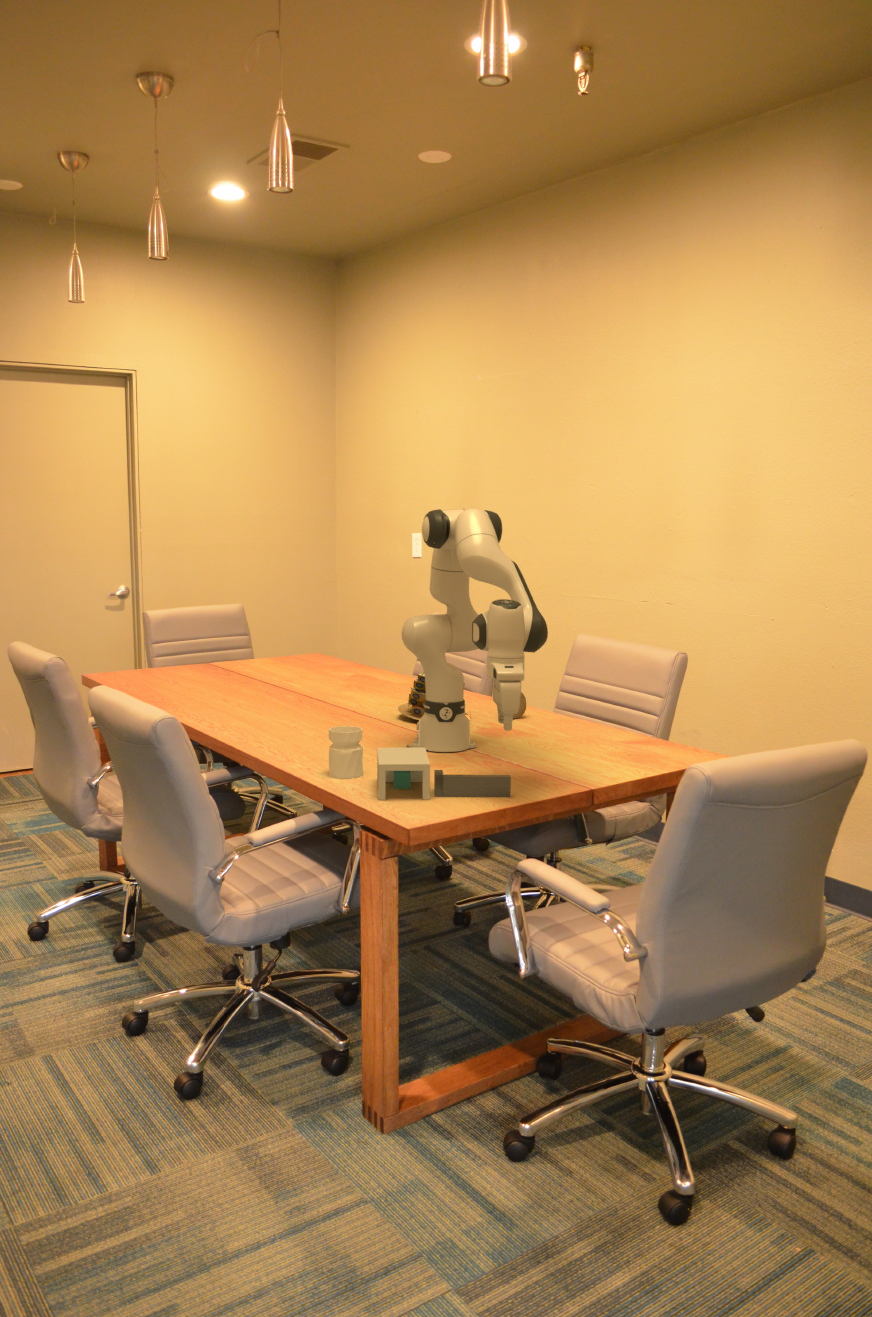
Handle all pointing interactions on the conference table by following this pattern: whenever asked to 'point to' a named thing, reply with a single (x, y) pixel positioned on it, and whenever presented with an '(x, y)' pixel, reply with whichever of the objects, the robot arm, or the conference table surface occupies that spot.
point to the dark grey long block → (471, 785)
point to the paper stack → (416, 699)
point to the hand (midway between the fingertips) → (504, 726)
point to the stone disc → (521, 707)
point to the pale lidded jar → (345, 752)
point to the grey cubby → (403, 767)
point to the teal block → (402, 779)
